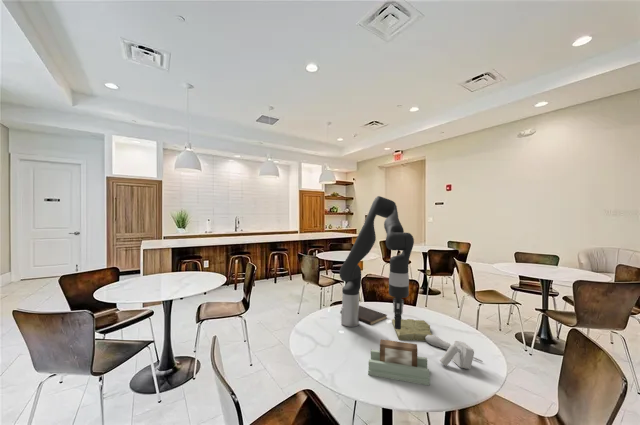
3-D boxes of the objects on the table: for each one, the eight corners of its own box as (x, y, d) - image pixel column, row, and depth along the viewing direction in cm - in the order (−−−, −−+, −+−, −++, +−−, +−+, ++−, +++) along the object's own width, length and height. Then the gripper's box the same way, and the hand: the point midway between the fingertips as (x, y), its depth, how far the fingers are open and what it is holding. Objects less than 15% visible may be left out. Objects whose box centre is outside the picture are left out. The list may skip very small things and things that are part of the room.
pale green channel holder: (368, 374, 106) (368, 363, 106) (371, 358, 117) (371, 348, 117) (429, 385, 99) (429, 373, 99) (426, 367, 111) (426, 356, 111)
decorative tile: (398, 340, 135) (398, 333, 135) (391, 323, 155) (391, 317, 155) (437, 343, 133) (437, 335, 133) (426, 325, 153) (426, 319, 153)
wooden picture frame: (379, 367, 108) (379, 344, 108) (380, 361, 112) (380, 339, 112) (417, 373, 104) (417, 349, 104) (416, 366, 108) (416, 344, 108)
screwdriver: (480, 369, 113) (480, 360, 112) (423, 343, 132) (423, 335, 131) (485, 362, 116) (485, 354, 115) (428, 338, 135) (428, 331, 134)
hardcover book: (357, 308, 179) (357, 304, 179) (387, 318, 162) (387, 314, 162) (340, 314, 168) (340, 310, 168) (370, 326, 151) (370, 322, 151)
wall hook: (434, 359, 116) (440, 336, 116) (457, 364, 117) (462, 341, 117) (444, 370, 108) (450, 345, 108) (468, 375, 109) (474, 350, 109)
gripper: (409, 289, 100) (408, 333, 100) (408, 279, 113) (407, 318, 114) (387, 287, 102) (387, 330, 102) (389, 278, 116) (389, 316, 116)
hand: (397, 324), depth 108 cm, fingers open, 8 cm apart
